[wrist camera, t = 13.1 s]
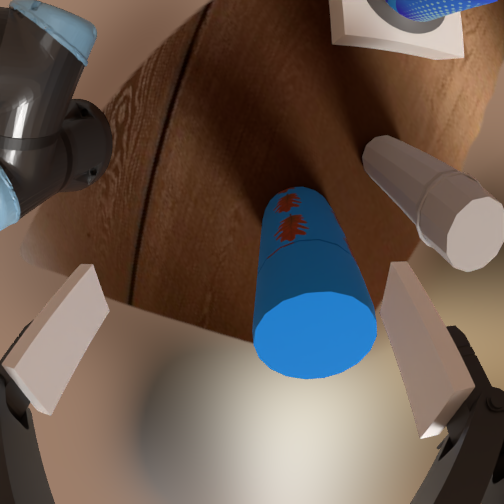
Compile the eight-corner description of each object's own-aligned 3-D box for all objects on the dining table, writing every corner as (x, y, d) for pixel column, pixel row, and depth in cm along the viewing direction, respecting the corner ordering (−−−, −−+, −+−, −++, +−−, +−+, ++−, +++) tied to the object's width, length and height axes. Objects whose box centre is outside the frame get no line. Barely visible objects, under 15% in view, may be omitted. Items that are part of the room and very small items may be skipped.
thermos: (318, 174, 43) (363, 269, 21) (342, 236, 47) (388, 358, 25) (250, 202, 46) (227, 316, 24) (279, 260, 50) (280, 390, 28)
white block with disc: (332, 44, 33) (345, 33, 26) (324, -39, 26) (334, -63, 19) (435, 59, 32) (466, 57, 25) (427, -20, 25) (454, -34, 18)
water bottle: (349, 147, 40) (429, 216, 19) (395, 125, 38) (507, 173, 16) (374, 201, 44) (449, 305, 22) (417, 179, 41) (516, 265, 20)
